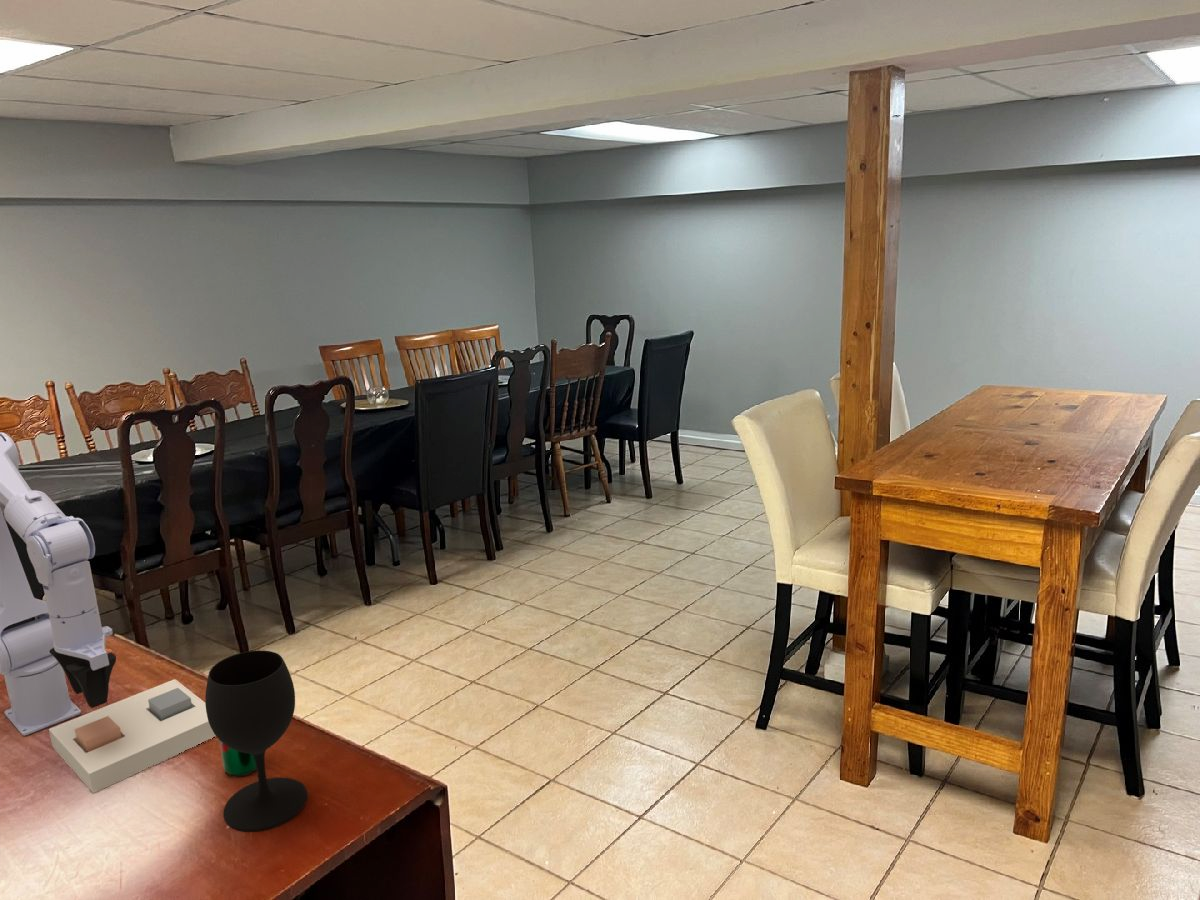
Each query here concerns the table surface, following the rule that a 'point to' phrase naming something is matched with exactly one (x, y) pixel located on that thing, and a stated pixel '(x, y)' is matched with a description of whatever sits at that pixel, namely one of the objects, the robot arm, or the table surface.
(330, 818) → the table surface
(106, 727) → the terracotta key
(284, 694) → the wine glass
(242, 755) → the soda can
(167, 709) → the slate key
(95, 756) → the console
